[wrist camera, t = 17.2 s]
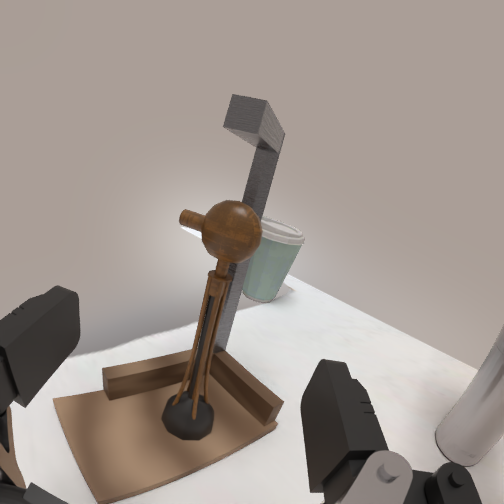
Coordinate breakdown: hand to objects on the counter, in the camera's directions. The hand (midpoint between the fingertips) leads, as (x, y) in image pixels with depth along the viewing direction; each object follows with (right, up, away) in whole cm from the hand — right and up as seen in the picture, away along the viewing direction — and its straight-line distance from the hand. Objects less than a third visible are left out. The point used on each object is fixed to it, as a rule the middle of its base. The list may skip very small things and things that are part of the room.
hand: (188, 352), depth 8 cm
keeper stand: (-6, -13, +14) cm, 20 cm away
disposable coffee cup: (+3, -6, +48) cm, 49 cm away
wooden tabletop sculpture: (-4, -12, +15) cm, 20 cm away
